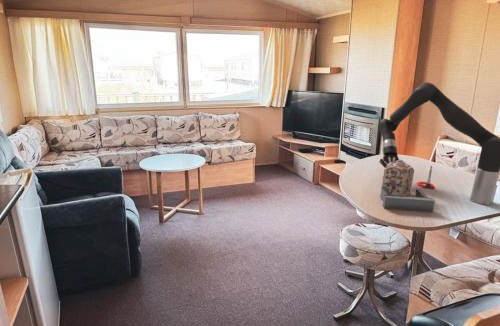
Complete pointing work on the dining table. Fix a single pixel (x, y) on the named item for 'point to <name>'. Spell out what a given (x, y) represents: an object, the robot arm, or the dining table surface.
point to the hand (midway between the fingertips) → (392, 174)
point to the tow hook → (428, 184)
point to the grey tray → (407, 201)
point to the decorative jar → (398, 178)
